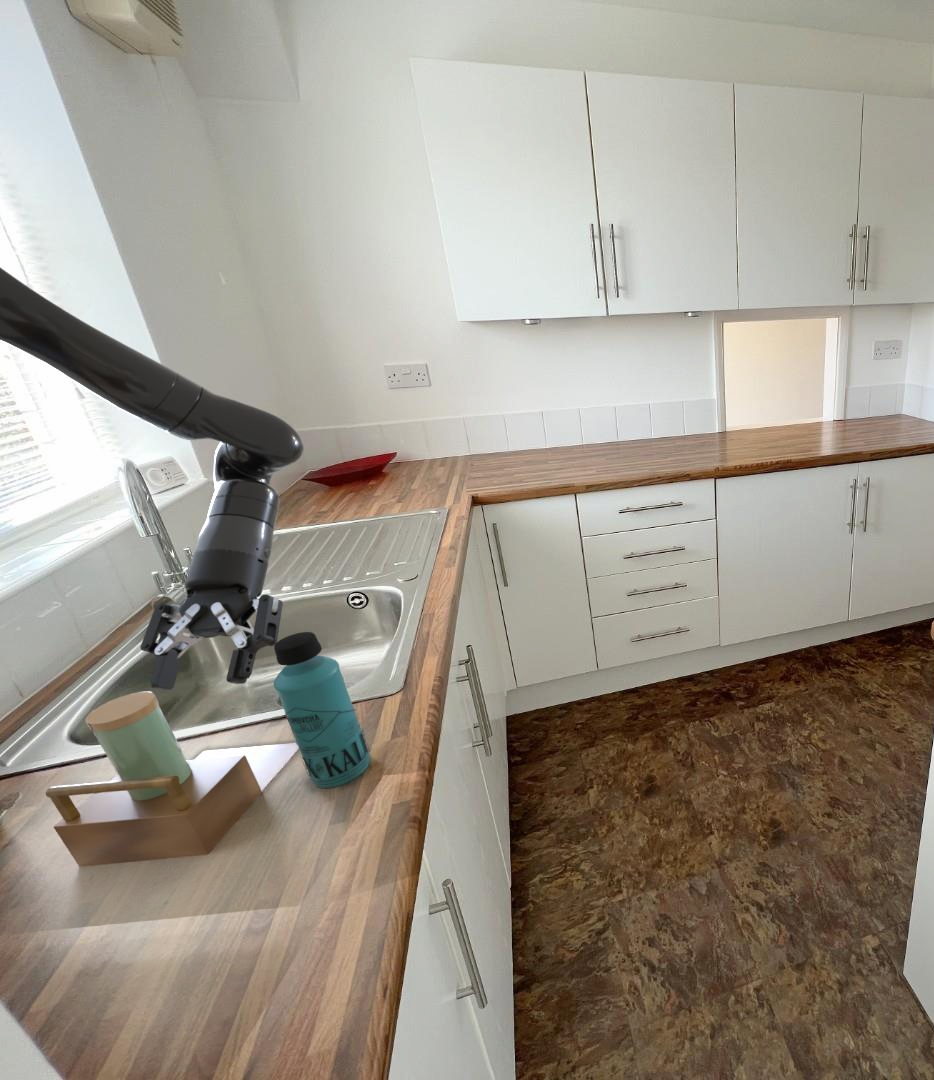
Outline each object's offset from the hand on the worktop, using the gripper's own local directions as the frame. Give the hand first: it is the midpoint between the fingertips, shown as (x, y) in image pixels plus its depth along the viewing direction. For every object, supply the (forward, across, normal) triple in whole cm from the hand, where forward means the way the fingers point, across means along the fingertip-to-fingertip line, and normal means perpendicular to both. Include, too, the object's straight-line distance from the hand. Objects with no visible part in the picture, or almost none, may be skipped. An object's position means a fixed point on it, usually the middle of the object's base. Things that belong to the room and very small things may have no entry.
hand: (198, 685), depth 68 cm
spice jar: (+10, 0, -1) cm, 11 cm away
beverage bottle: (+11, +14, +8) cm, 20 cm away
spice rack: (+13, 0, +6) cm, 14 cm away
